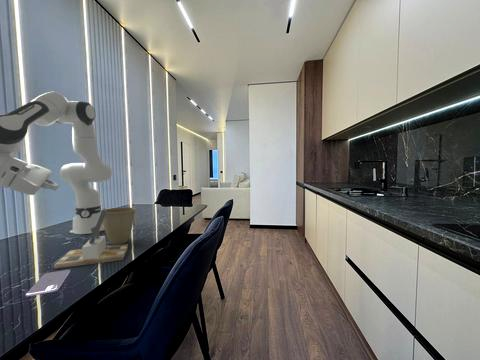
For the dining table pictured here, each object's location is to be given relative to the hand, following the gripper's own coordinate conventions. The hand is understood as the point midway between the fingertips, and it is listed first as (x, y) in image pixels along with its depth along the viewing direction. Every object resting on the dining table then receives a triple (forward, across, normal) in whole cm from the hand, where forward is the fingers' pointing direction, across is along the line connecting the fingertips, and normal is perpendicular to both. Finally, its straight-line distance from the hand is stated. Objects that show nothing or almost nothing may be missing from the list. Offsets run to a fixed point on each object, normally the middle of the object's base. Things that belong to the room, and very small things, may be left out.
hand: (57, 187), depth 91 cm
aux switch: (+21, +8, -10) cm, 24 cm away
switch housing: (+23, +14, -14) cm, 30 cm away
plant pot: (+33, -1, -15) cm, 37 cm away
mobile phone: (+12, +31, -17) cm, 37 cm away
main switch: (+19, +15, -8) cm, 26 cm away
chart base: (+24, +14, -15) cm, 32 cm away
